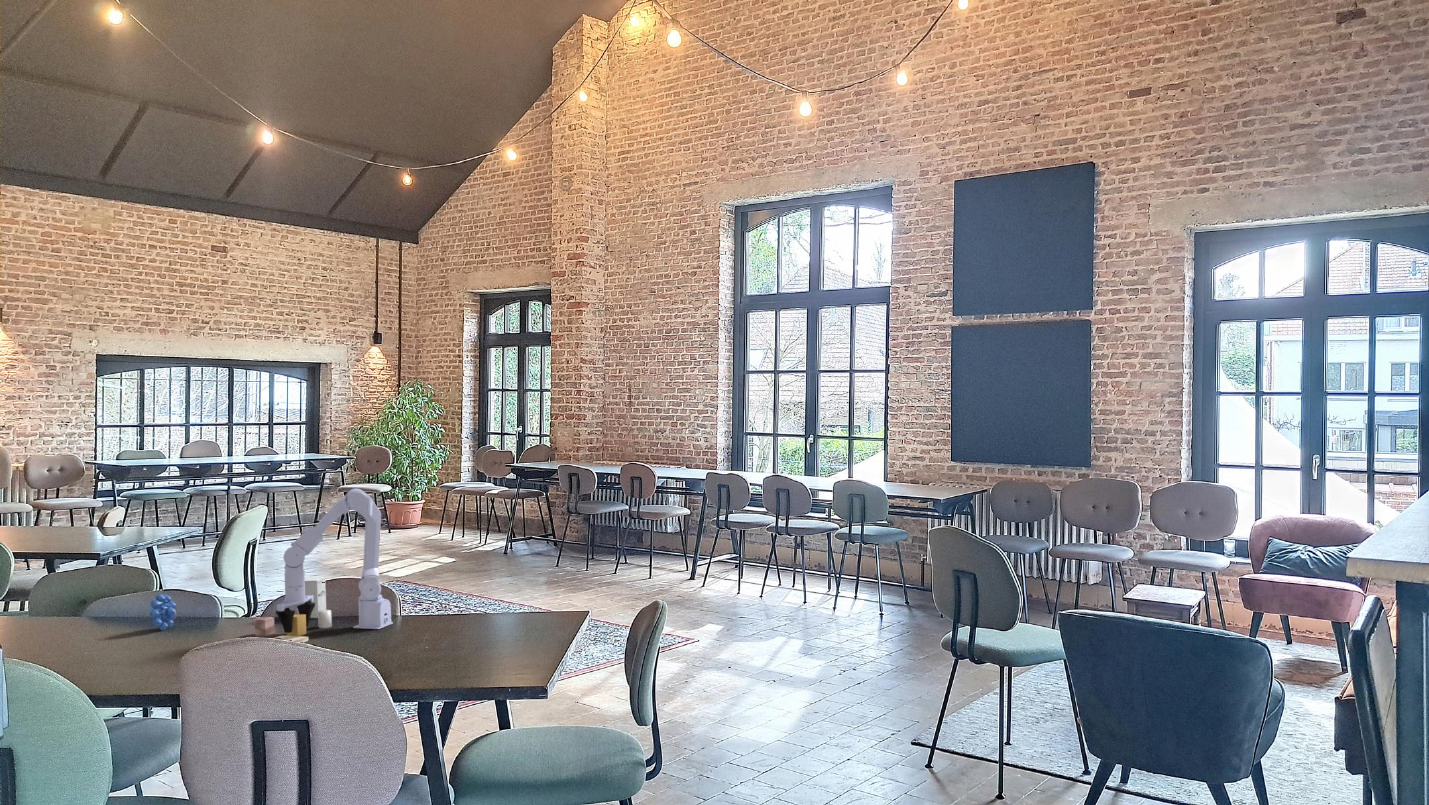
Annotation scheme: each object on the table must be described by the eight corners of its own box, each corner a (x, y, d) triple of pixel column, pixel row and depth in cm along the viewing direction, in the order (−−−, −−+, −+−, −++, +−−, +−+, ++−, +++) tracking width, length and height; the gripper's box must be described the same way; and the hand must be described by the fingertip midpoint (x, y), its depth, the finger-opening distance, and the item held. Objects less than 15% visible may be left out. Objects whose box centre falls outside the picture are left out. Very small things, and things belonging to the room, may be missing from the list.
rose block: (274, 633, 319) (274, 617, 319) (265, 636, 315) (265, 620, 315) (264, 632, 320) (263, 616, 320) (254, 635, 316) (254, 619, 316)
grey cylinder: (334, 625, 327) (333, 610, 327) (326, 628, 323) (325, 612, 323) (323, 625, 328) (323, 609, 328) (315, 628, 324) (315, 612, 324)
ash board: (308, 640, 307) (308, 636, 307) (285, 649, 298) (285, 645, 298) (280, 639, 310) (280, 635, 310) (257, 647, 301) (257, 643, 301)
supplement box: (318, 618, 339) (317, 580, 338) (296, 618, 339) (295, 581, 339) (327, 613, 346) (326, 576, 346) (305, 613, 346) (304, 576, 346)
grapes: (164, 634, 321) (163, 596, 321) (144, 634, 322) (143, 597, 322) (187, 626, 332) (186, 589, 332) (168, 626, 333) (167, 589, 333)
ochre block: (306, 633, 317) (305, 614, 317) (297, 636, 313) (297, 617, 313) (295, 633, 318) (294, 614, 318) (286, 636, 314) (286, 616, 314)
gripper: (299, 581, 324) (301, 623, 324) (267, 590, 310) (269, 634, 310) (318, 581, 322) (320, 624, 322) (287, 590, 308) (288, 635, 308)
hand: (296, 629), depth 316 cm, fingers open, 7 cm apart
